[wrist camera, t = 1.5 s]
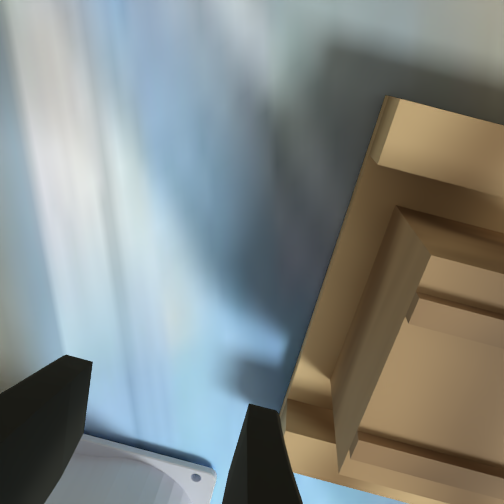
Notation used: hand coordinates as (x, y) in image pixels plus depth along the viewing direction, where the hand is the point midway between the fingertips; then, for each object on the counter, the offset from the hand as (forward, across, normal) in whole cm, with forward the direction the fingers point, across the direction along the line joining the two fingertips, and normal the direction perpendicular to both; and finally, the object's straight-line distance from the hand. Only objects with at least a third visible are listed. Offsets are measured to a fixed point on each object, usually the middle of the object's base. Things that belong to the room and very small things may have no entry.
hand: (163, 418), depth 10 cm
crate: (+9, -8, 0) cm, 12 cm away
